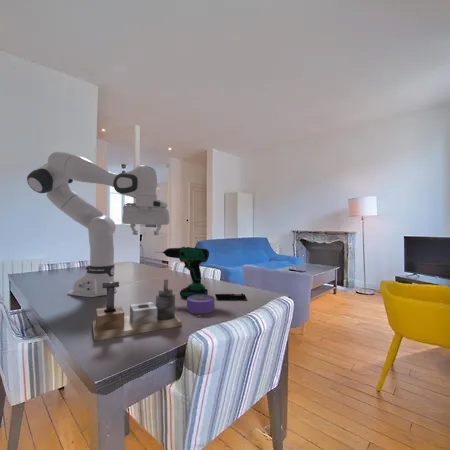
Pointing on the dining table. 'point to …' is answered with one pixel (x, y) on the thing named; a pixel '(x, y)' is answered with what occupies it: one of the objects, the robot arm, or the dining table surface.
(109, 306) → the chuck key
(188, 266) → the power drill
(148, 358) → the dining table surface
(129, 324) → the stand
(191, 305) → the tape roll
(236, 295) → the electric trimmer
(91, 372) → the dining table surface
